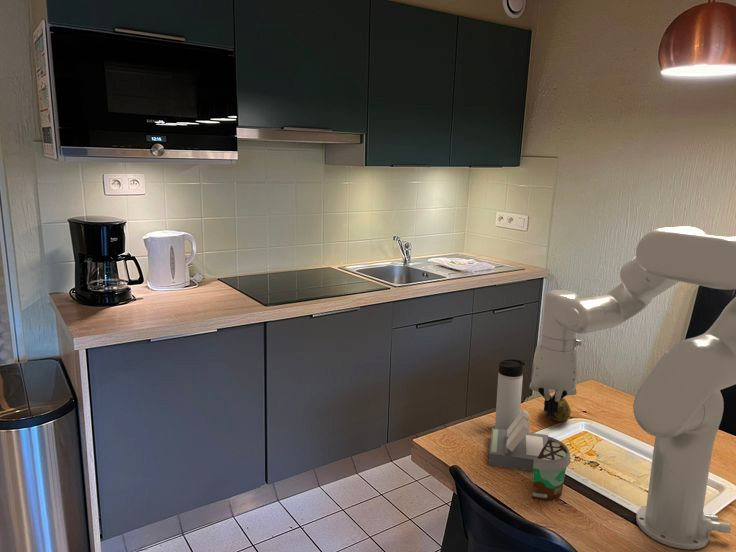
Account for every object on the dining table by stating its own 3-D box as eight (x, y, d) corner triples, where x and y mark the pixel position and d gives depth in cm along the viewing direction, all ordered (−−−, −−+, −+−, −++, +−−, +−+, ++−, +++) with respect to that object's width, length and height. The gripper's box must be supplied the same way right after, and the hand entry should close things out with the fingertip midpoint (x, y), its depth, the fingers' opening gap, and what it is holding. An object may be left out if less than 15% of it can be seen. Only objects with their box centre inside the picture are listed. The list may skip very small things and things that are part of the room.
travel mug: (520, 438, 143) (526, 366, 139) (495, 435, 145) (499, 364, 141) (519, 427, 149) (524, 358, 145) (494, 425, 151) (498, 356, 147)
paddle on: (509, 437, 138) (528, 412, 135) (509, 445, 134) (529, 419, 131) (503, 433, 138) (523, 408, 136) (503, 441, 134) (523, 416, 131)
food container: (560, 511, 112) (564, 467, 111) (530, 502, 116) (533, 458, 114) (573, 483, 123) (576, 442, 121) (545, 475, 126) (548, 435, 124)
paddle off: (509, 447, 133) (529, 421, 130) (508, 456, 128) (529, 430, 126) (503, 443, 133) (523, 418, 130) (502, 452, 129) (523, 426, 126)
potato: (579, 416, 157) (581, 390, 155) (563, 432, 147) (566, 404, 145) (550, 408, 162) (552, 383, 160) (533, 423, 152) (536, 396, 150)
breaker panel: (547, 445, 139) (548, 434, 139) (550, 473, 127) (551, 461, 126) (491, 438, 143) (491, 427, 142) (488, 464, 130) (489, 452, 129)
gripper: (589, 341, 130) (581, 412, 134) (524, 334, 134) (518, 403, 138) (593, 351, 123) (584, 425, 127) (524, 344, 127) (518, 416, 131)
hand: (550, 414), depth 132 cm, fingers closed
